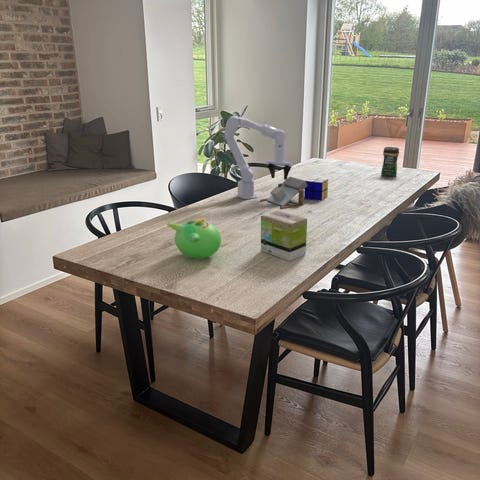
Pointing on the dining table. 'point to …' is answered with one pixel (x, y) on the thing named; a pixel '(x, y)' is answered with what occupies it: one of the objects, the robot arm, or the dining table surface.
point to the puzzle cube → (316, 189)
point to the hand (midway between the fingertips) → (279, 178)
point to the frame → (300, 202)
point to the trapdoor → (289, 190)
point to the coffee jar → (390, 161)
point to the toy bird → (197, 238)
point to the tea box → (283, 235)
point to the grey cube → (278, 193)
